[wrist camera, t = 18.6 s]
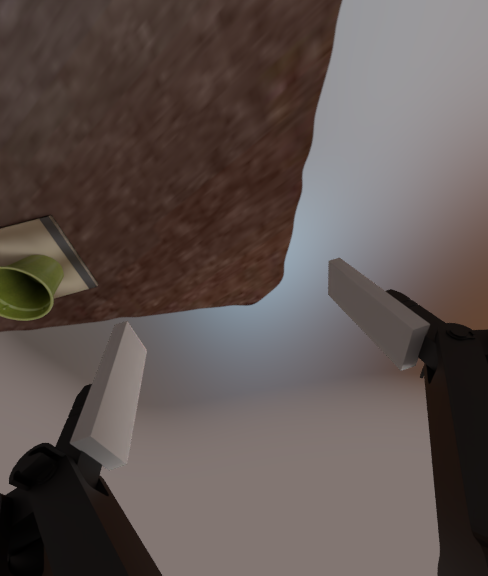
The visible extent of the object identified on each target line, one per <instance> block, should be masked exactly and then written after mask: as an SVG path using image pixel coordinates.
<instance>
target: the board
mask: <svg viewBox="0 0 488 576" xmlns="http://www.w3.org/2000/svg"><path fill="white" fill-rule="evenodd" d="M31 255H45V256H48V257H51V258H53V259H54V260H56V261H57V262H58V263H59V264H60V265H61V266H62V269H63V272H64V277H63V279H62V281H61V283H60V285H59V286H58V288H57V290H56V292H55V294H54V297H53V299H54V298H57V297H61V296H64V295H68V294H72V293H75V292H79V291H82V290H86V289H90V288H93V287H97V285H98V283H97V282H96V280H95V279H94V277H93V276H92V274H91V273H90V271H89V270H88V268H87V267H86V265H85V264H84V263H83V261H82V260H81V258H80V257H79V255H78V254H77V252H76V251H75V249H74V248H73V246H72V245H71V243H70V242H69V240H68V239H67V237H66V236H65V235H64V233H63V232H62V230H61V229H60V227H59V226H58V224H57V223H56V221H55V220H54V218H53V217H52V215H50V216H46V217H42V218H38V219H34V220H31V221H27V222H23V223H19V224H15V225H11V226H7V227H3V228H0V266H7V265H10V264H12V263H14V262H17V261H19V260H21V259H24V258H26V257H28V256H31ZM34 279H35V278H34Z"/></svg>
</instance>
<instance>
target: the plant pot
mask: <svg viewBox="0 0 488 576" xmlns="http://www.w3.org/2000/svg"><path fill="white" fill-rule="evenodd" d="M63 277H64V272H63V269H62V266H61V265H60V264H59V263H58V262H57V261H56V260H54V259H53V258H51V257H48V256H45V255H31V256H28V257H26V258H24V259H21V260H19V261H17V262H14V263H12V264H10V265H7V266H0V316H2V317H5V318H9V319H14V320H34V319H38V318H41V317H43V316H44V315H46V314H47V313H48V312H49V311H50V310H51V308H52V306H53V301H54V299H53V297H54V294H55V292H56V290H57V288H58V286H59V285H60V283H61V281H62V279H63ZM34 278H35V279H34Z"/></svg>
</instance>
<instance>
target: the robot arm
mask: <svg viewBox="0 0 488 576" xmlns="http://www.w3.org/2000/svg"><path fill="white" fill-rule="evenodd" d="M328 279H329V281H328V285H329V286H328V295H329V296H330V297H331V298H332V299H333V300H334V301H335V302H336V303H337V304H338V305H339V306H340V307H341V308H342V309H343V311H344V312H345V313H346V314H347V315H348V316H349V317H350V318H351V319H352V320H353V321H354V322H355V323H356V324H357V325H358V326H359V327H360V328H361V329H362V330H363V331H364V332H365V333H366V335H368V337H369V338H370V339H371V340H372V341H373V342H374V343H375V344H376V345H377V346H378V347H379V348H380V349H381V350H382V351H383V352H384V353H385V354H386V356H387V357H388V358H389V359H390V360H391V361H392V362H393V363H394V364H395V365H396V366H397V367H398V368H399V369H400V370H401V371H402V370H404V369H407V368H410V367H413V366H415V365H416V363H417V360H418V357H419V358H420V359H421V360H422V361H423V362H424V363H425V364H424V366H423V369H422V372H421V374H420V378H423V376H424V379H425V390H426V400H427V411H428V421H429V433H430V443H431V455H432V465H433V476H434V487H435V498H436V509H437V520H438V530H439V542H440V557H439V563H438V576H488V330H472V329H470V328H468V327H466V326H464V325H460V324H455V323H445V322H443V321H442V320H440V319H439V318H437V317H436V316H434V315H433V314H432V313H430V312H429V311H427V310H426V309H424V308H423V307H421V306H420V305H418V304H417V303H416V302H414V301H412V300H411V299H410V298H408V297H407V296H405V295H404V294H402V293H400V292H397V291H395V290H387V291H384V290H383V289H381V288H380V287H378V286H377V285H376V284H375V283H373V282H372V281H370V280H369V279H368V278H366V277H365V276H364V275H362V274H361V273H360V272H358V271H357V270H355V269H354V268H353V267H351V266H350V265H349V264H347V263H346V262H345V261H343V260H342V259H341V258H337V259H334V260H330V261H329V278H328ZM146 353H147V350H146V348H145V347H144V345H143V344H142V342H141V341H140V340H139V338H138V336H137V335H136V333H135V332H134V330H133V329H132V327H131V326H130V324H129V323H128V321H126V322H122V323H119V324H116V325H114V328H113V331H112V333H111V336H110V338H109V341H108V344H107V347H106V349H105V352H104V354H103V357H102V359H101V362H100V365H99V367H98V370H97V372H96V375H95V378H94V380H93V383H92V384H90V385H86V386H84V388H83V389H82V390H81V392H80V393H79V394H78V396H77V397H76V399H75V402H74V404H73V407H72V410H71V411H70V414H69V416H68V417H69V418H68V419H67V421H66V423H65V425H64V428H63V430H62V432H61V435H60V437H59V440H58V442H57V445H56V447H54V446H53V445H51V444H49V443H42V444H39V445H37V446H35V447H33V448H32V449H30V450H29V451H28V452H26V454H24V455H23V456H22V457H21V458H20V459H19V461H18V462H17V464H16V465H15V467H14V468H13V470H12V472H11V474H10V477H9V484H11V485H13V486H15V487H17V488H16V489H14V490H13V491H11V492H10V493H8V494H7V495H3V494H1V493H0V576H162V574H161V572H160V571H159V570H158V568H157V566H156V564H155V563H154V561H153V559H152V558H151V556H150V554H149V553H148V551H147V549H146V548H145V546H144V545H143V543H142V541H141V540H140V538H139V536H138V535H137V533H136V531H135V530H134V528H133V527H132V525H131V523H130V522H129V520H128V519H127V517H126V515H125V514H124V512H123V510H122V509H121V507H120V505H119V504H118V502H117V500H116V499H115V497H114V495H113V494H112V492H111V490H110V489H109V487H108V485H107V484H106V482H105V481H104V479H103V478H102V477H101V476H100V471H101V467H102V466H103V467H105V468H107V469H108V470H112V469H115V468H118V467H121V466H124V465H127V460H128V455H129V449H130V444H131V438H132V433H133V427H134V421H135V416H136V410H137V404H138V399H139V392H140V387H141V382H142V376H143V370H144V365H145V359H146Z"/></svg>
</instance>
